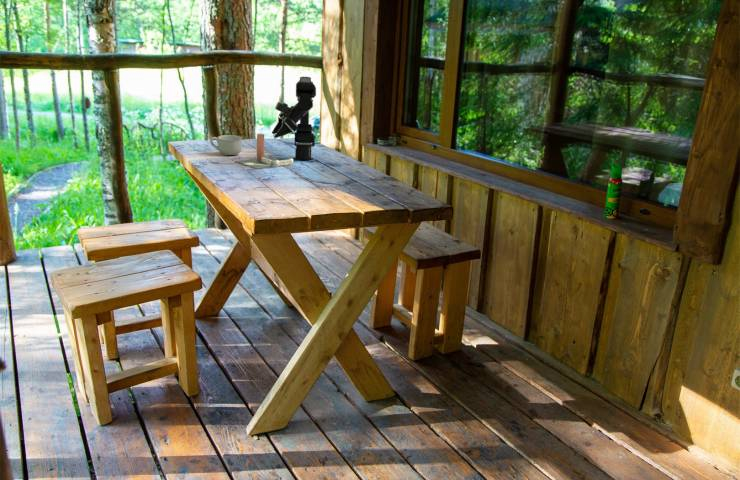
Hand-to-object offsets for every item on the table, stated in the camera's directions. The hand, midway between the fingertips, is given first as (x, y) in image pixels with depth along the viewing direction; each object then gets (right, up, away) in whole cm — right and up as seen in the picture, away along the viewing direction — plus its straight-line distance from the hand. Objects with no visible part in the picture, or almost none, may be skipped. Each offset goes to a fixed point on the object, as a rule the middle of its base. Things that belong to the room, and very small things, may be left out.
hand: (273, 135), depth 254 cm
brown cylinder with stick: (-3, -12, -1) cm, 12 cm away
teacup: (-24, -6, +15) cm, 29 cm away
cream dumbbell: (+4, -13, -1) cm, 14 cm away
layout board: (-4, -12, +1) cm, 13 cm away
